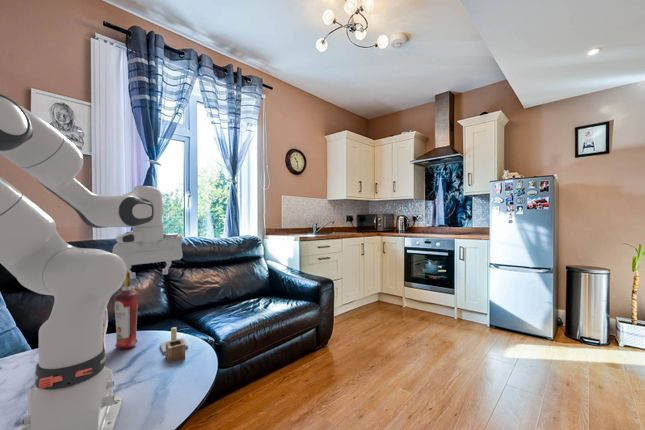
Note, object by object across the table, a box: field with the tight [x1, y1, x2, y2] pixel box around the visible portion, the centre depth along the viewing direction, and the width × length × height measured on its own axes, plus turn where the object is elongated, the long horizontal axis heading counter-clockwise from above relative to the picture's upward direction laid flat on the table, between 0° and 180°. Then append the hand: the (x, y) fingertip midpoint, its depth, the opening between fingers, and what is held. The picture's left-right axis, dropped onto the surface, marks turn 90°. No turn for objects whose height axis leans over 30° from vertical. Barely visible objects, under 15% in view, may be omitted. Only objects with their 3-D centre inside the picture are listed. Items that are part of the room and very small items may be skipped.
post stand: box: [159, 326, 189, 355], centre depth 106 cm, size 8×8×7 cm
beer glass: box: [103, 306, 109, 351], centre depth 103 cm, size 7×7×15 cm
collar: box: [165, 337, 186, 364], centre depth 98 cm, size 6×5×5 cm
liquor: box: [113, 271, 139, 351], centre depth 106 cm, size 7×7×28 cm
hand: (149, 276), depth 96 cm, fingers open, 8 cm apart
